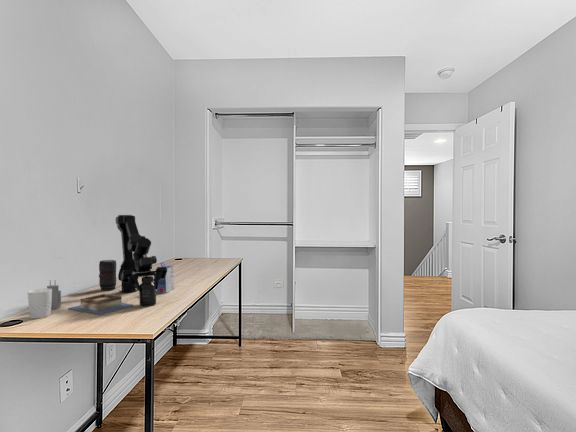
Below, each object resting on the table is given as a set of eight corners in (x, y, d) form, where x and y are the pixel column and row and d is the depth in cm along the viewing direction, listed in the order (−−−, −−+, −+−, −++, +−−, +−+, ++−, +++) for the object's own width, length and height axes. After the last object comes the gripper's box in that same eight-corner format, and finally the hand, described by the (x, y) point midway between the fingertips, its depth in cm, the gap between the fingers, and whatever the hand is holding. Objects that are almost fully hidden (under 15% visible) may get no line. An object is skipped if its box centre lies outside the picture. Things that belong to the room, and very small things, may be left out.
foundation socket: (80, 307, 155) (80, 299, 154) (104, 302, 164) (104, 293, 164) (98, 310, 150) (98, 301, 150) (121, 304, 159) (121, 296, 159)
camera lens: (106, 291, 188) (106, 262, 188) (95, 290, 192) (95, 261, 192) (120, 288, 196) (119, 260, 195) (109, 287, 199) (109, 259, 199)
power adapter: (47, 308, 157) (47, 279, 157) (61, 307, 158) (61, 279, 158) (44, 309, 154) (43, 280, 154) (58, 309, 155) (58, 280, 155)
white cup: (26, 320, 139) (26, 293, 139) (29, 315, 146) (29, 289, 146) (51, 317, 143) (50, 291, 143) (53, 312, 150) (53, 287, 150)
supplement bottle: (159, 303, 163) (159, 276, 163) (147, 307, 157) (147, 278, 157) (147, 302, 166) (147, 275, 166) (135, 305, 160) (135, 277, 160)
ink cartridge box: (164, 288, 194) (163, 261, 194) (174, 289, 194) (174, 261, 194) (155, 293, 184) (155, 263, 184) (166, 293, 184) (166, 264, 184)
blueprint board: (68, 309, 154) (68, 308, 154) (102, 300, 169) (102, 299, 169) (100, 315, 145) (100, 313, 145) (133, 305, 160) (133, 304, 160)
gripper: (122, 251, 159) (128, 281, 150) (165, 248, 170) (174, 276, 161) (118, 267, 165) (124, 297, 156) (160, 264, 176) (168, 291, 167)
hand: (148, 290), depth 160 cm, fingers closed on supplement bottle, 7 cm apart
